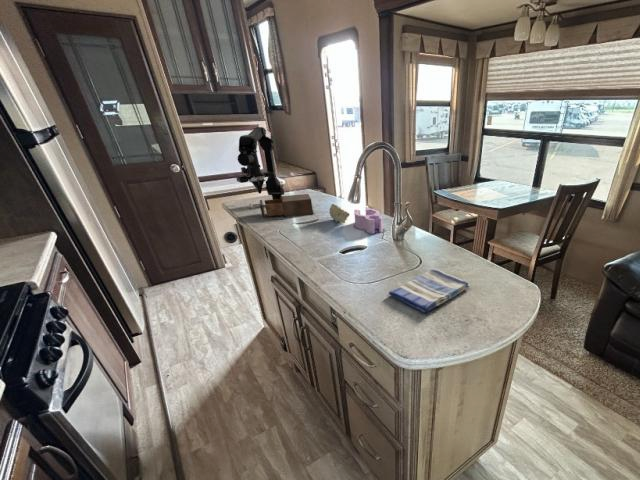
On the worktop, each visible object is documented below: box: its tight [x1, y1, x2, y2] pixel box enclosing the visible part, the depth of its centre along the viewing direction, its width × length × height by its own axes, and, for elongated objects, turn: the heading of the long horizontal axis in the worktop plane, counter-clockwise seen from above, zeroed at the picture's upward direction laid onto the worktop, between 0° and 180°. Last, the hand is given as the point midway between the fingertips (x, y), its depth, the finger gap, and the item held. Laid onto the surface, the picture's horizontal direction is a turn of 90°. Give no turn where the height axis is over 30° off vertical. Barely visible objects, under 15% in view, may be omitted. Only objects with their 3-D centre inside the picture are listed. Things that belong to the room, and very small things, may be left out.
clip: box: [354, 207, 384, 235], centre depth 164 cm, size 20×12×7 cm, turn 29°
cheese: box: [329, 203, 351, 224], centre depth 172 cm, size 15×7×15 cm
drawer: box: [249, 199, 284, 218], centre depth 181 cm, size 20×11×7 cm, turn 110°
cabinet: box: [281, 193, 314, 218], centre depth 185 cm, size 16×13×9 cm
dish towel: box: [388, 268, 470, 314], centre depth 109 cm, size 17×24×3 cm
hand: (259, 193), depth 176 cm, fingers closed
